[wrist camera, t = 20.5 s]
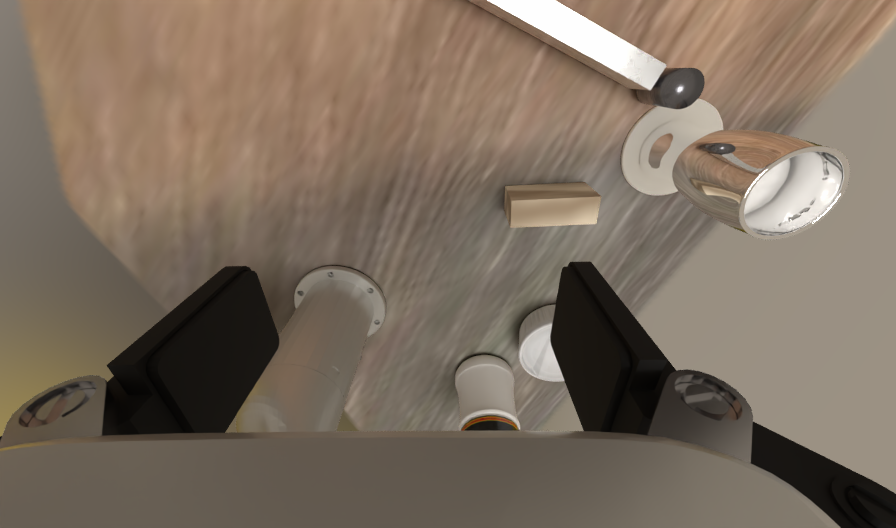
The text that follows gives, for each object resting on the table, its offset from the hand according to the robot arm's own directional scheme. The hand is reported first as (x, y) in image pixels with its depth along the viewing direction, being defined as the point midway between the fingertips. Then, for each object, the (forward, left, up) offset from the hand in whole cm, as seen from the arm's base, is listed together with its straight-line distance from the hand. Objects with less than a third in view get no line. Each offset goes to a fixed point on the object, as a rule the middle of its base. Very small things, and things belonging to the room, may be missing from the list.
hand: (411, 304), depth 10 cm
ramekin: (-27, -14, -30) cm, 43 cm away
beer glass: (-2, -24, -29) cm, 38 cm away
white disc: (-2, -24, -29) cm, 38 cm away
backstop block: (-7, -11, -29) cm, 32 cm away
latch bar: (+9, -9, -28) cm, 31 cm away
